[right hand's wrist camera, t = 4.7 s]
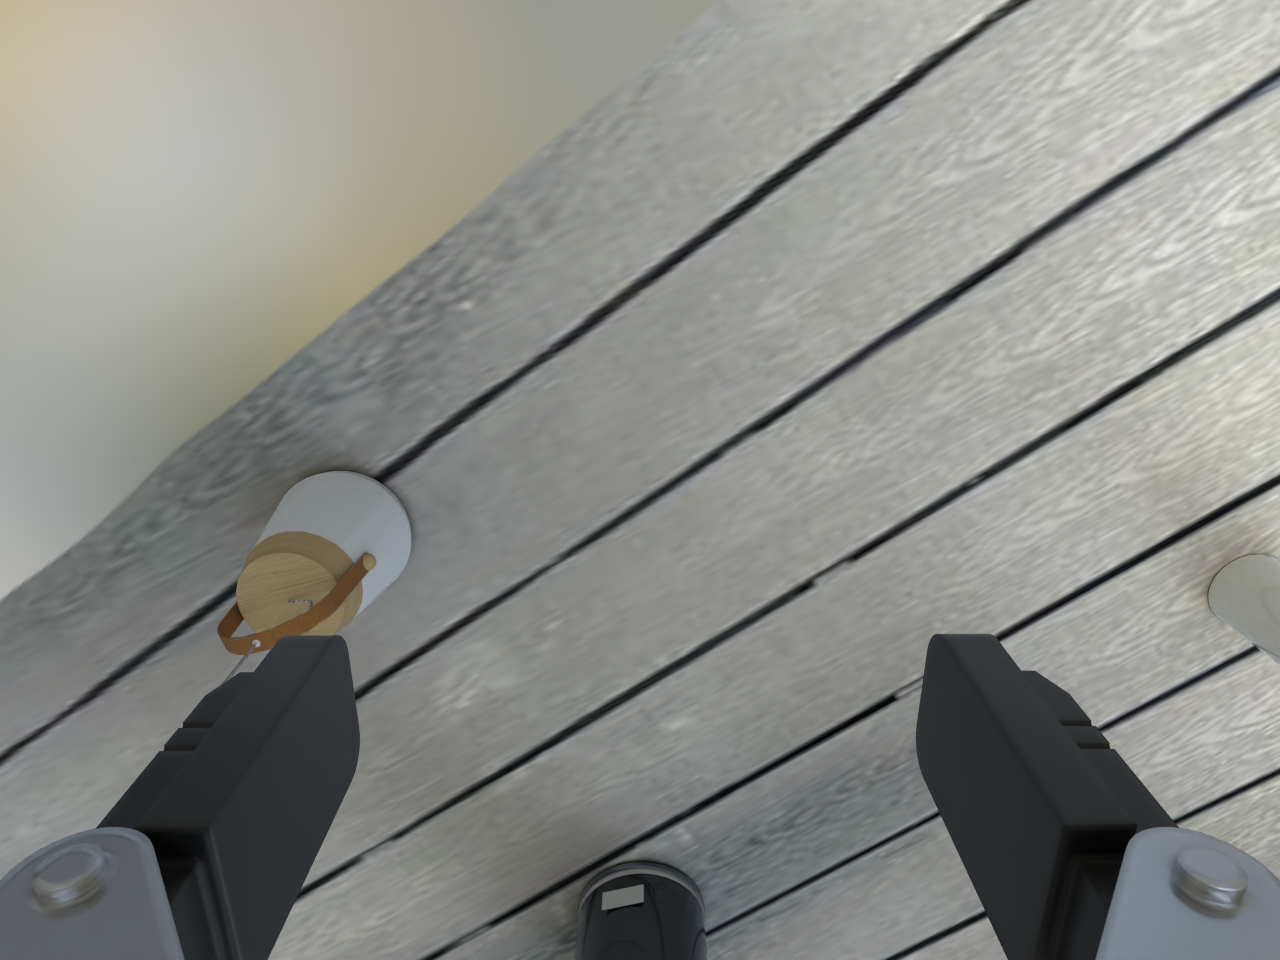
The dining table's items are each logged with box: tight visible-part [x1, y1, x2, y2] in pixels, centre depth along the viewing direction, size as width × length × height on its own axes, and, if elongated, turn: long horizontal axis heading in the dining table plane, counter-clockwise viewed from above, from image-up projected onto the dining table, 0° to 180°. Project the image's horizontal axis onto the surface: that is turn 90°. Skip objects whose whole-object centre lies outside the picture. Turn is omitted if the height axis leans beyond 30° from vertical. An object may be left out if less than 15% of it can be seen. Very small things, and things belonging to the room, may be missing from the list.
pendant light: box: [217, 471, 411, 686], centre depth 37 cm, size 8×8×30 cm
